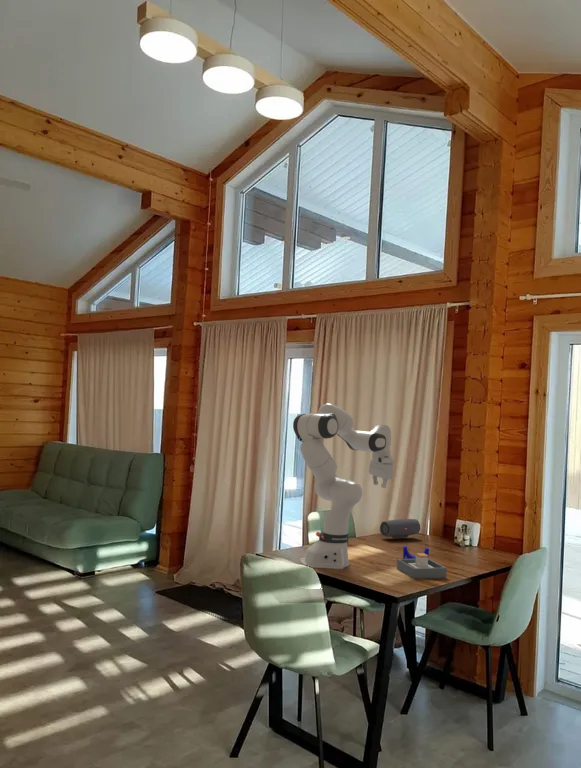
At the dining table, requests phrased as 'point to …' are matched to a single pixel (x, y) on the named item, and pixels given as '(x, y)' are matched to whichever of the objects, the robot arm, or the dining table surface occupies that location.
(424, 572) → the storage box
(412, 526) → the bluetooth speaker
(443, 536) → the dining table surface
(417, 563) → the connector
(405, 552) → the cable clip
